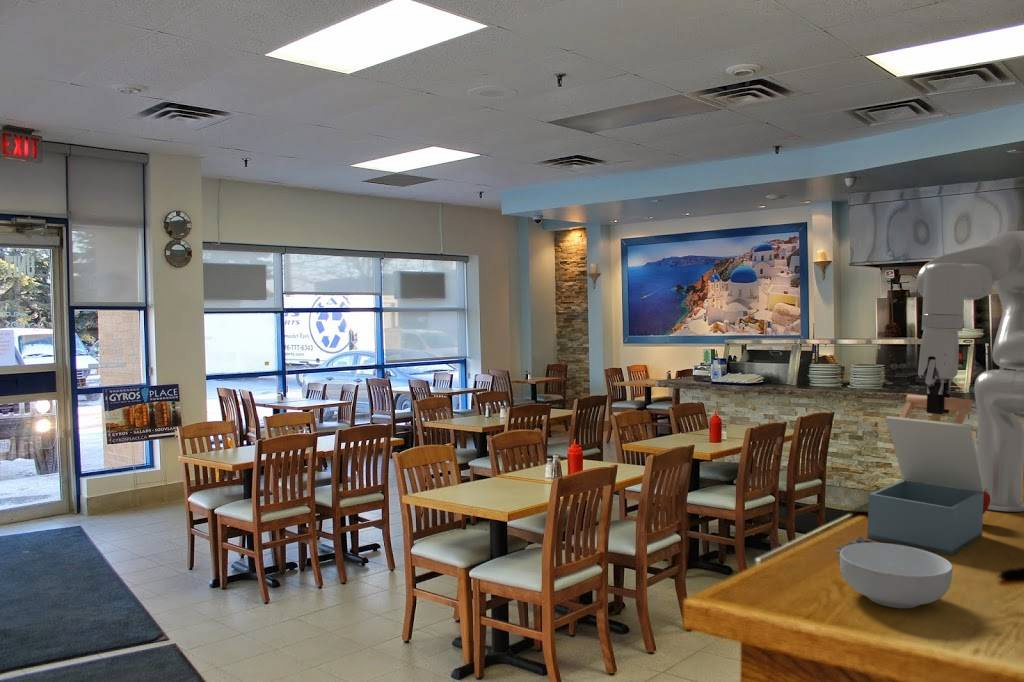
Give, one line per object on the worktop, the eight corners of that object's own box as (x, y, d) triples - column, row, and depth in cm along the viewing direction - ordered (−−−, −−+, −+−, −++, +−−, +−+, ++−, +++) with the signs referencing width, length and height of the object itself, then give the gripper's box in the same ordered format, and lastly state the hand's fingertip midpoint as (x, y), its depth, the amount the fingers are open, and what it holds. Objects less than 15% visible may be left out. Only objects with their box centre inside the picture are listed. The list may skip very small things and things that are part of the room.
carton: (901, 520, 187) (902, 479, 186) (981, 535, 176) (983, 492, 175) (867, 537, 174) (868, 494, 174) (951, 555, 163) (953, 508, 162)
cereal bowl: (896, 626, 129) (898, 580, 129) (816, 590, 145) (817, 549, 144) (975, 609, 136) (977, 566, 136) (891, 576, 151) (892, 537, 151)
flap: (902, 479, 186) (915, 453, 191) (983, 492, 175) (994, 463, 180) (885, 417, 178) (899, 391, 182) (969, 426, 167) (981, 398, 171)
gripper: (936, 322, 184) (932, 408, 185) (908, 323, 173) (904, 414, 174) (974, 324, 179) (970, 412, 180) (948, 324, 168) (943, 418, 168)
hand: (937, 412), depth 177 cm, fingers closed on flap, 2 cm apart
